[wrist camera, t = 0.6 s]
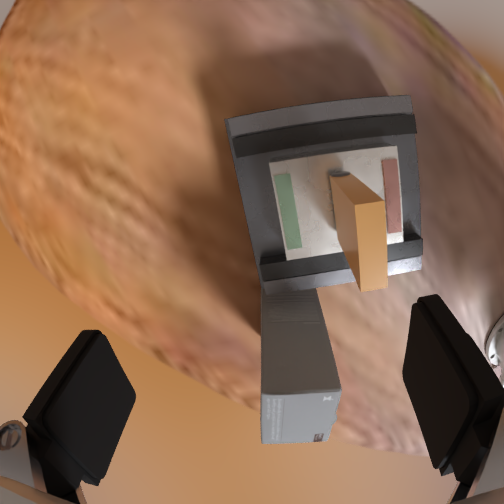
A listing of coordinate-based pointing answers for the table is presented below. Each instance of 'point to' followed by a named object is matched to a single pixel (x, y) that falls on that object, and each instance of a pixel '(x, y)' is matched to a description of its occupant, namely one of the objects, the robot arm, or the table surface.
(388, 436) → the table surface
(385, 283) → the breaker lever
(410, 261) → the breaker box
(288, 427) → the skincare box
